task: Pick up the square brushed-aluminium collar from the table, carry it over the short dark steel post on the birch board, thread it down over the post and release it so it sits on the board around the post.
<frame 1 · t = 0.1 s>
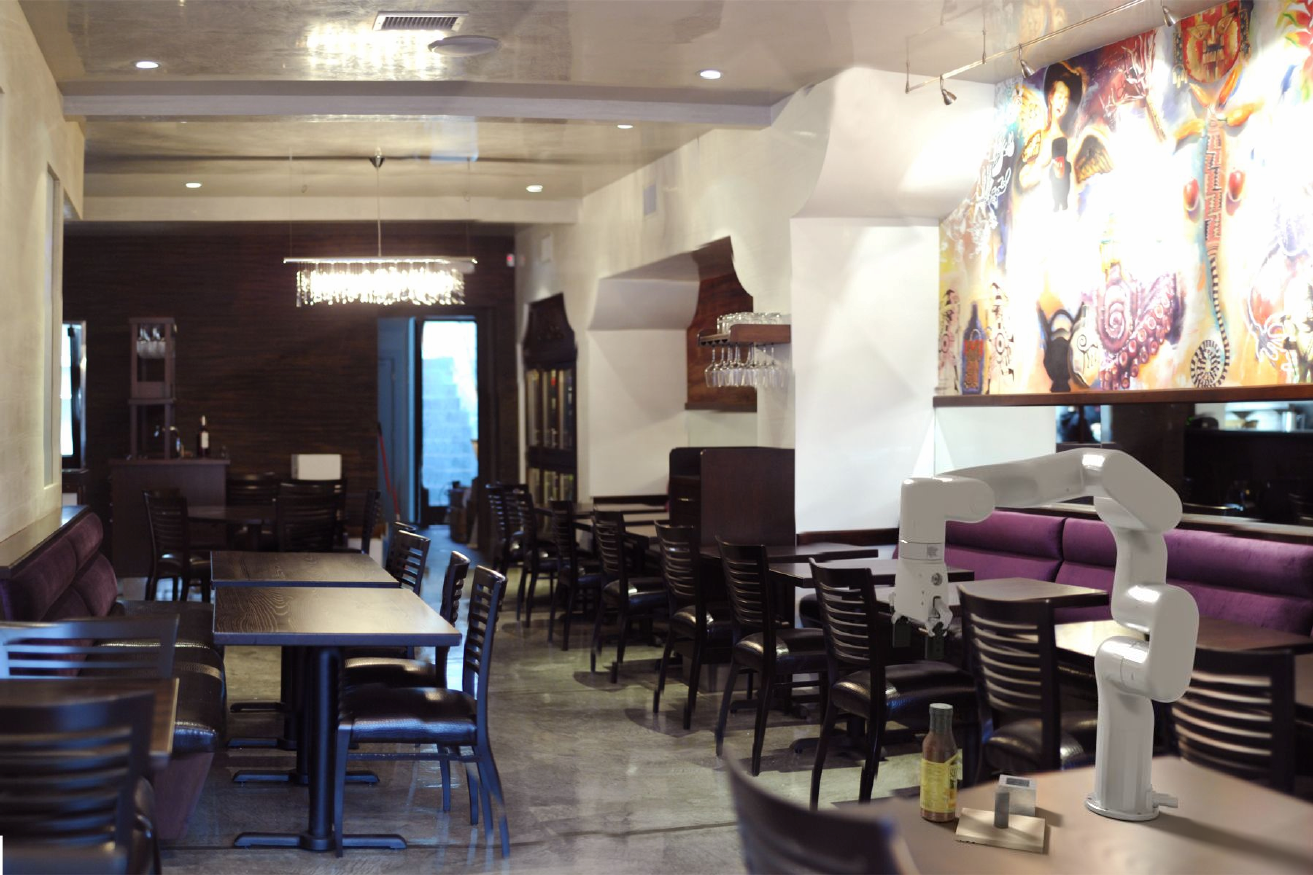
hand: (917, 652, 202), 31 cm above the table, tool pointing down, fingers open, 9 cm apart
sauce bottle: (937, 818, 213), on the table
collar: (1016, 809, 218), on the table
post block: (1000, 831, 207), on the table
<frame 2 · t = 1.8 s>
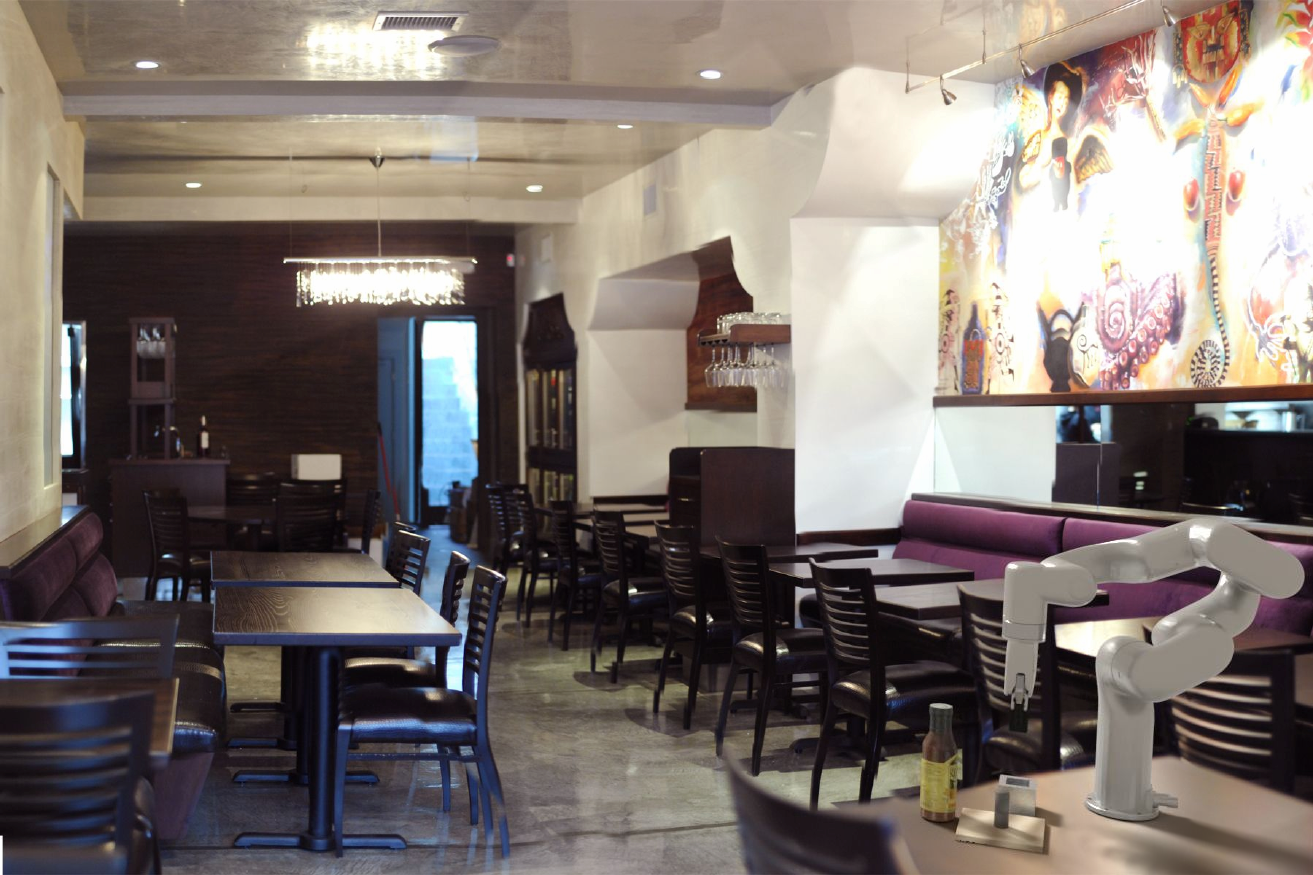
hand: (1019, 724, 217), 16 cm above the table, tool pointing down, fingers open, 9 cm apart
nothing on the table moved.
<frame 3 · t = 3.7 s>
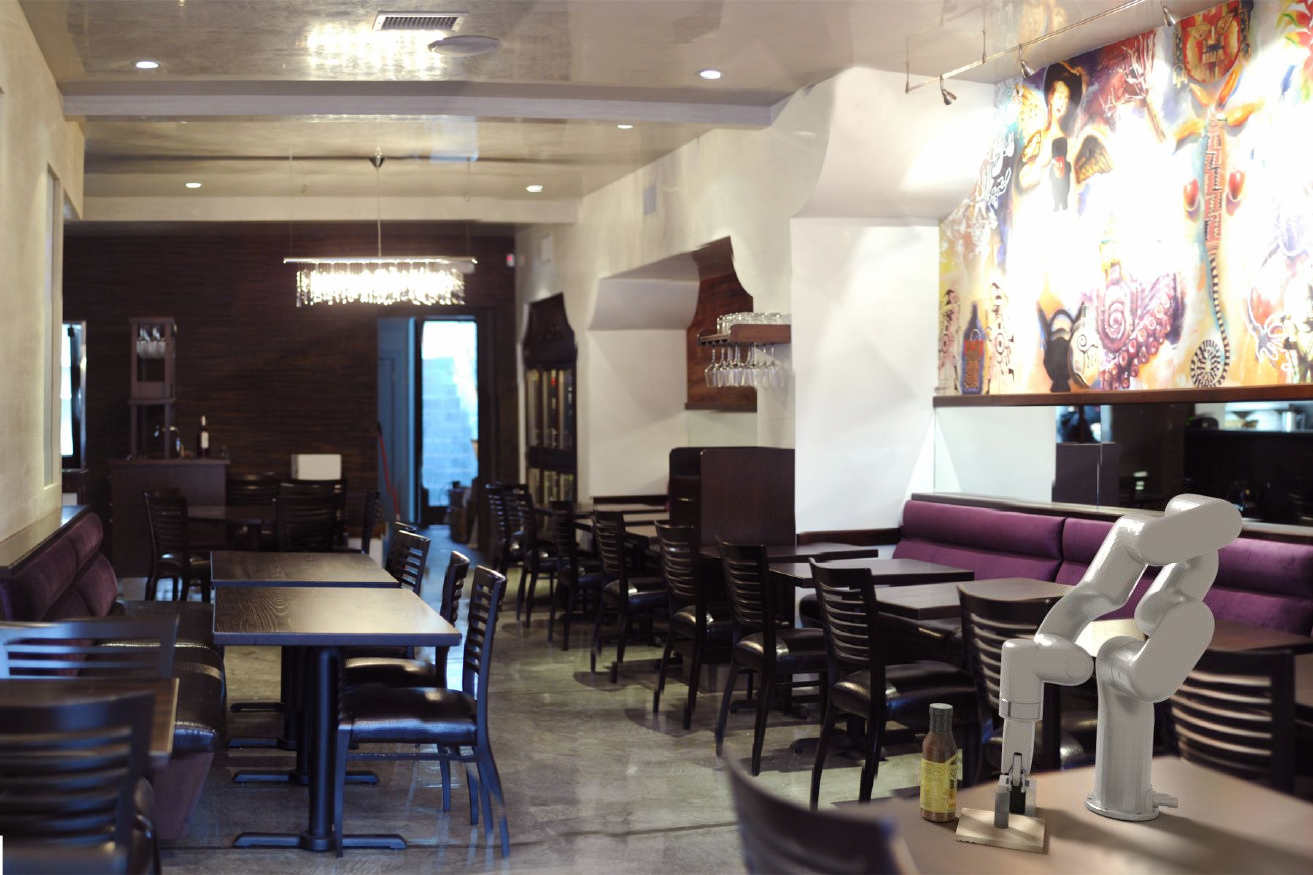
hand: (1016, 805, 218), 1 cm above the table, tool pointing down, fingers closed on collar, 6 cm apart
collar: (1016, 809, 218), on the table, touching gripper
everything else where it was.
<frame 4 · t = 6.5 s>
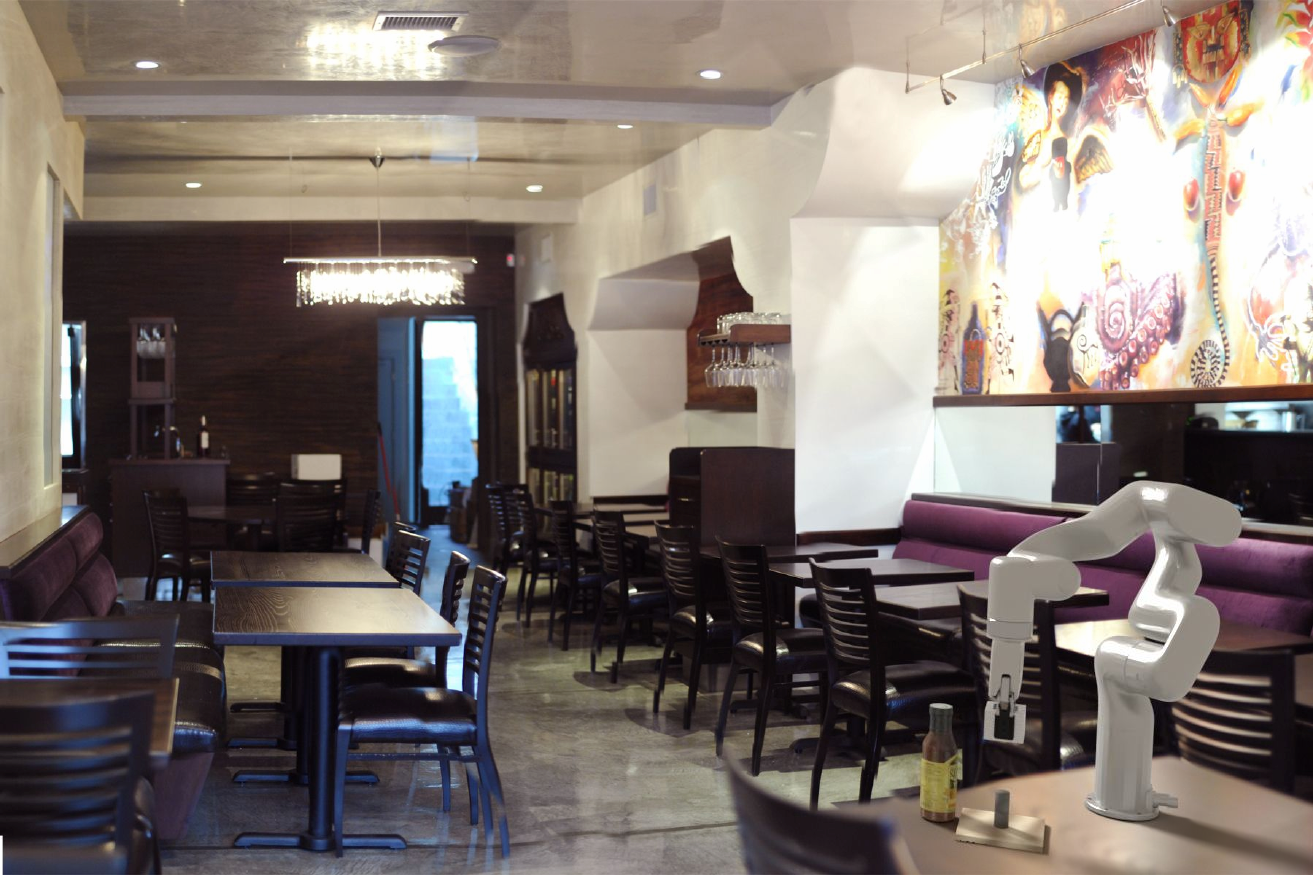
hand: (1004, 732, 206), 17 cm above the table, tool pointing down, fingers closed on collar, 6 cm apart
collar: (1004, 736, 206), point 17 cm above the table, touching gripper
everything else where it was.
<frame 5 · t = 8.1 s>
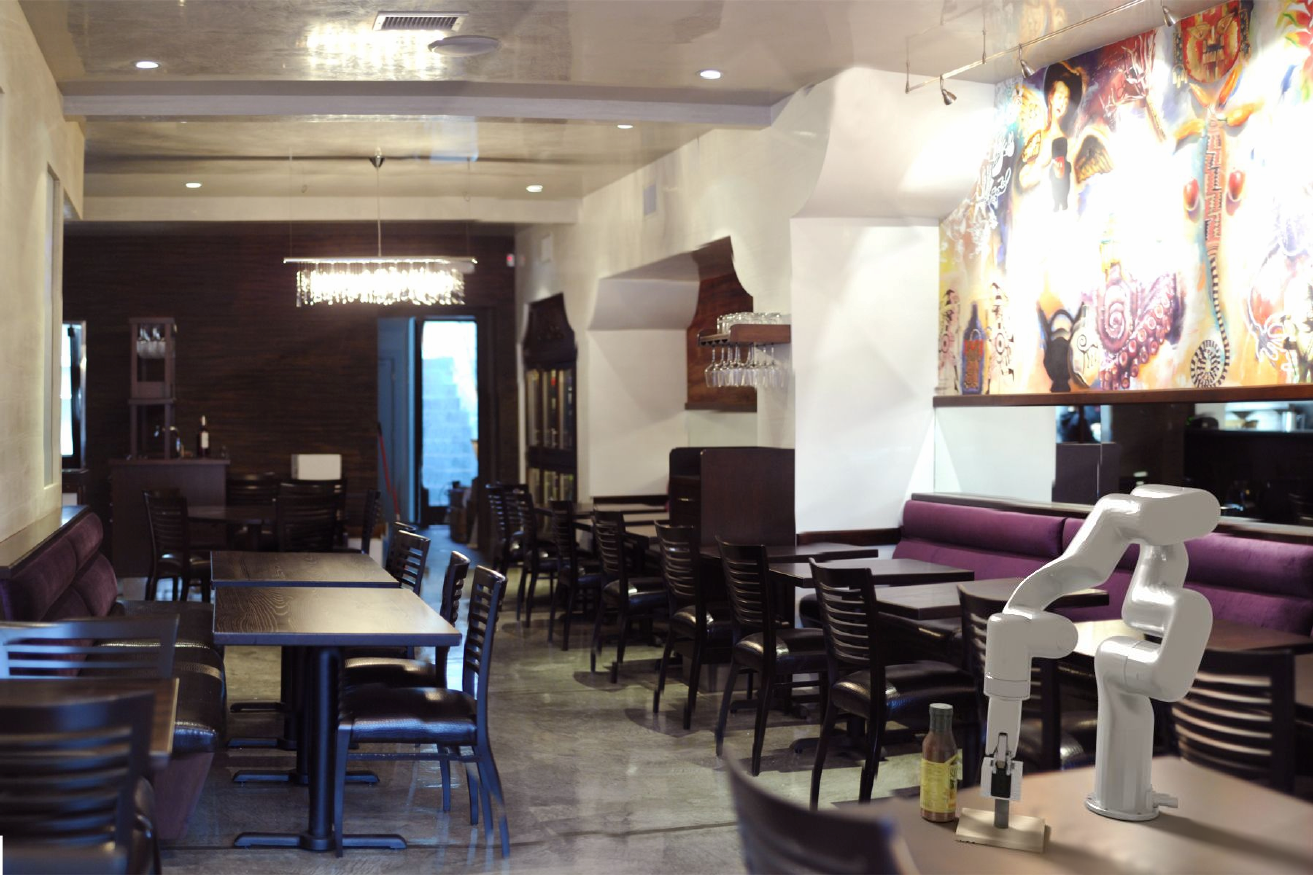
hand: (1001, 789, 206), 7 cm above the table, tool pointing down, fingers closed on collar, 6 cm apart
collar: (1000, 793, 206), point 7 cm above the table, touching gripper
everything else where it was.
when the fingers open (6 cm above the table, at t = 9.4 s): collar drops 4 cm, resting on post block.
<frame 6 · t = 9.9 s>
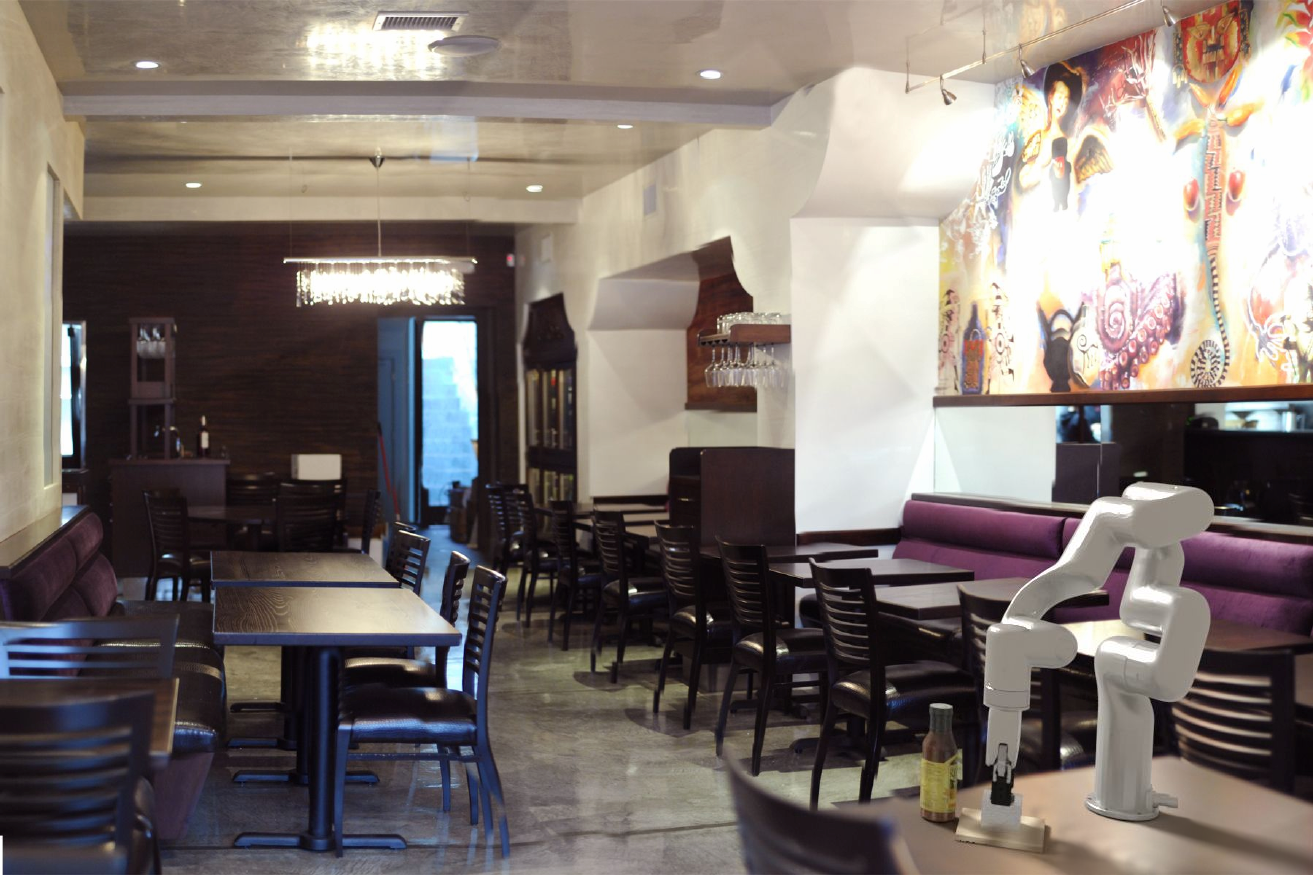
hand: (1002, 795, 206), 6 cm above the table, tool pointing down, fingers open, 9 cm apart
collar: (1001, 826, 207), point 1 cm above the table, touching post block
everything else where it was.
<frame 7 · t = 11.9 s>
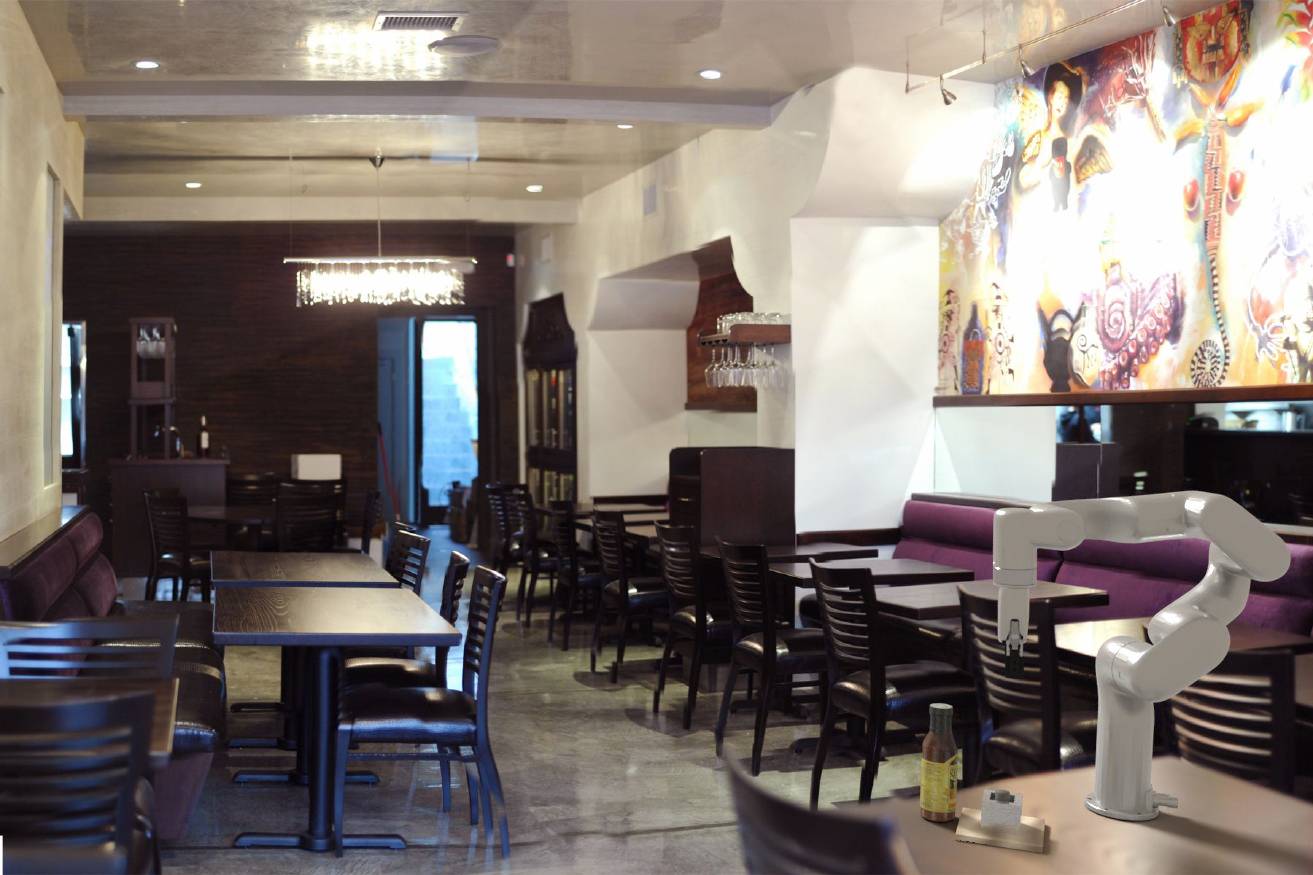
hand: (1014, 671, 217), 25 cm above the table, tool pointing down, fingers open, 9 cm apart
nothing on the table moved.
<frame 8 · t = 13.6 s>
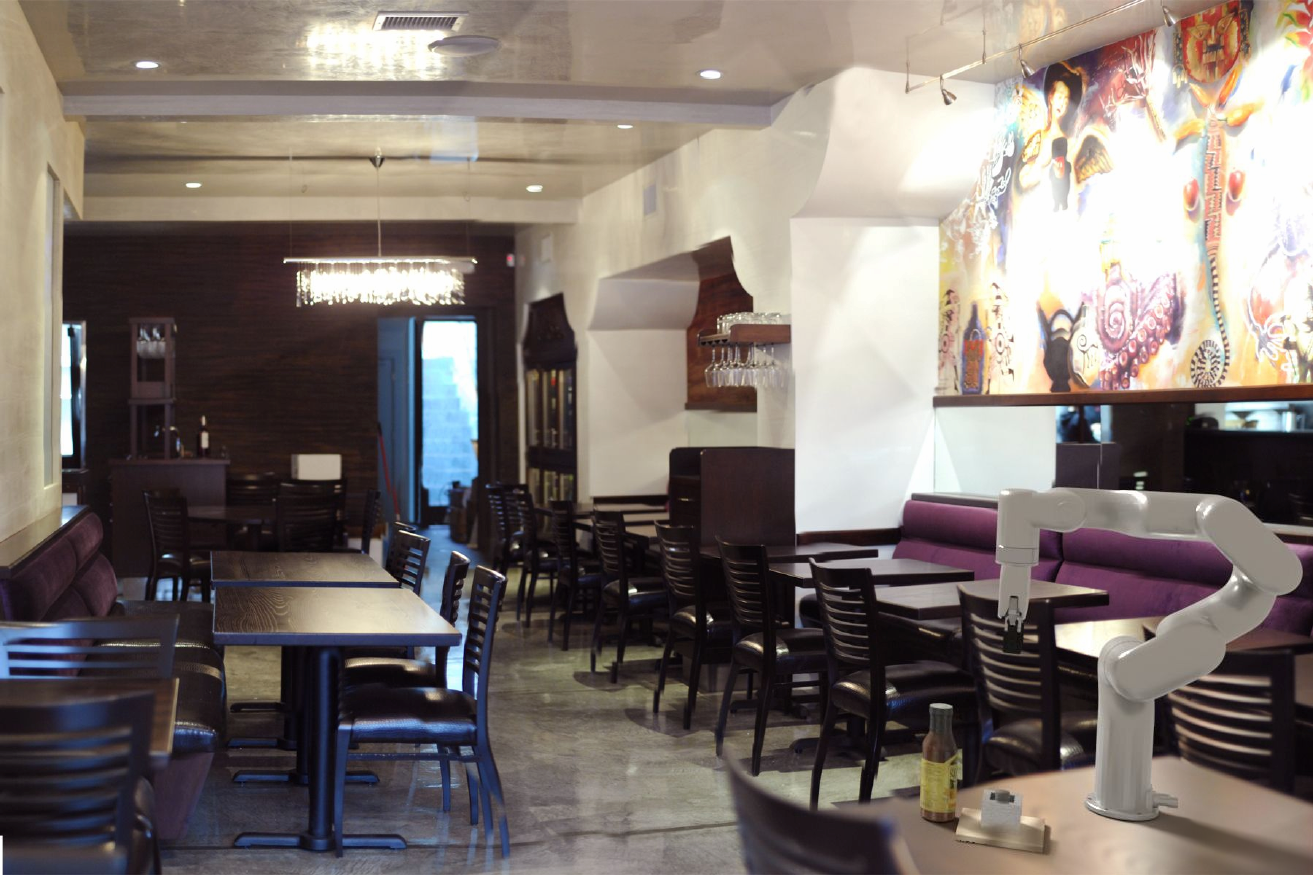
hand: (1013, 647, 222), 28 cm above the table, tool pointing down, fingers open, 9 cm apart
nothing on the table moved.
at the end: collar 0.0 cm off-centre on the post block, point 1.0 cm above the post block's base; the gripper is holding nothing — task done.
